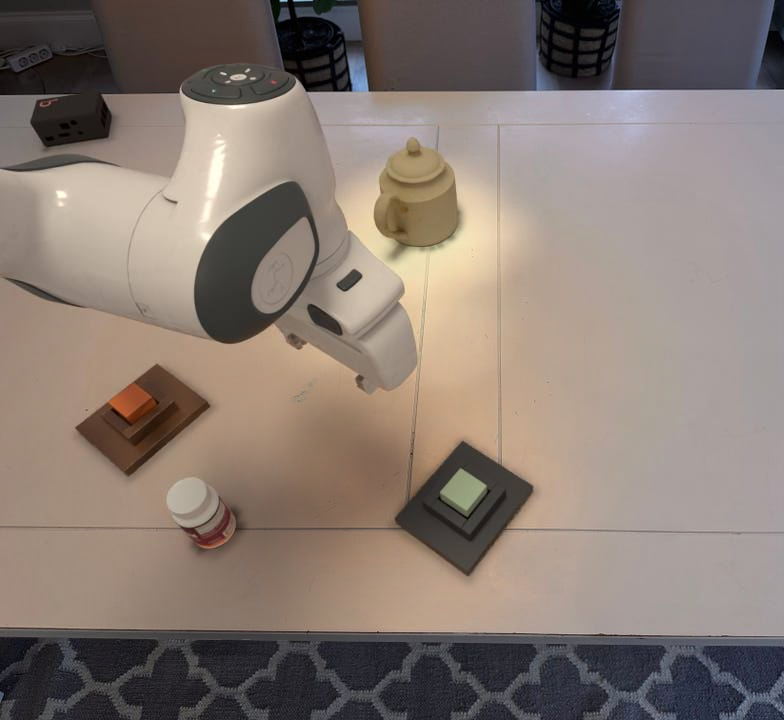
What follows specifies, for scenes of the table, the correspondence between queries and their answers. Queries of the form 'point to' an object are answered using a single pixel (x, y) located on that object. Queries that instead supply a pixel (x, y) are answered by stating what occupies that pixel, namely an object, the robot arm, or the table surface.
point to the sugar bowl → (417, 197)
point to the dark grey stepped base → (451, 528)
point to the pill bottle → (200, 512)
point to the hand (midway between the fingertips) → (333, 364)
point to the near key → (463, 492)
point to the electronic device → (71, 118)
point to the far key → (132, 403)
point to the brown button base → (144, 421)
